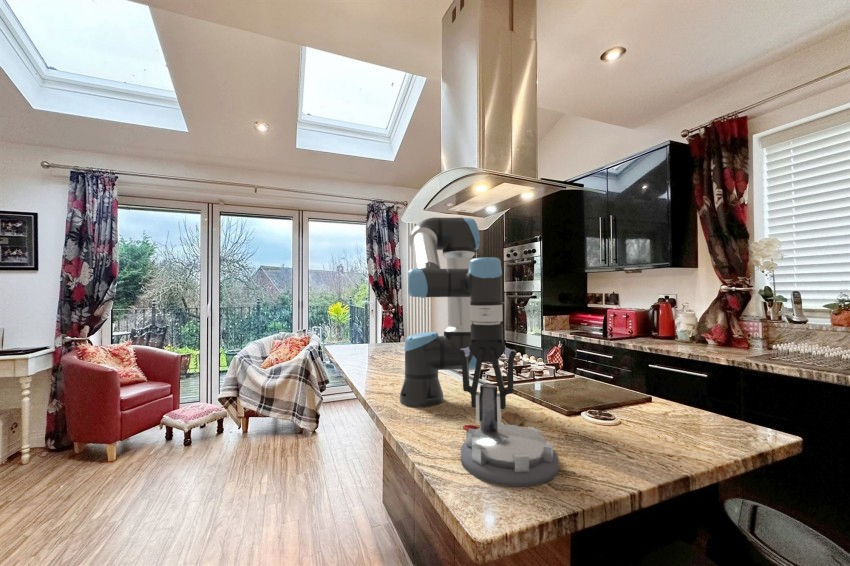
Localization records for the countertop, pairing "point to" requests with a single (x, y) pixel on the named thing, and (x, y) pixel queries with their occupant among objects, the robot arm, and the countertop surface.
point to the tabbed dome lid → (505, 439)
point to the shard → (512, 418)
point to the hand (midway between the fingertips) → (488, 421)
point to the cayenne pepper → (470, 427)
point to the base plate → (509, 471)
